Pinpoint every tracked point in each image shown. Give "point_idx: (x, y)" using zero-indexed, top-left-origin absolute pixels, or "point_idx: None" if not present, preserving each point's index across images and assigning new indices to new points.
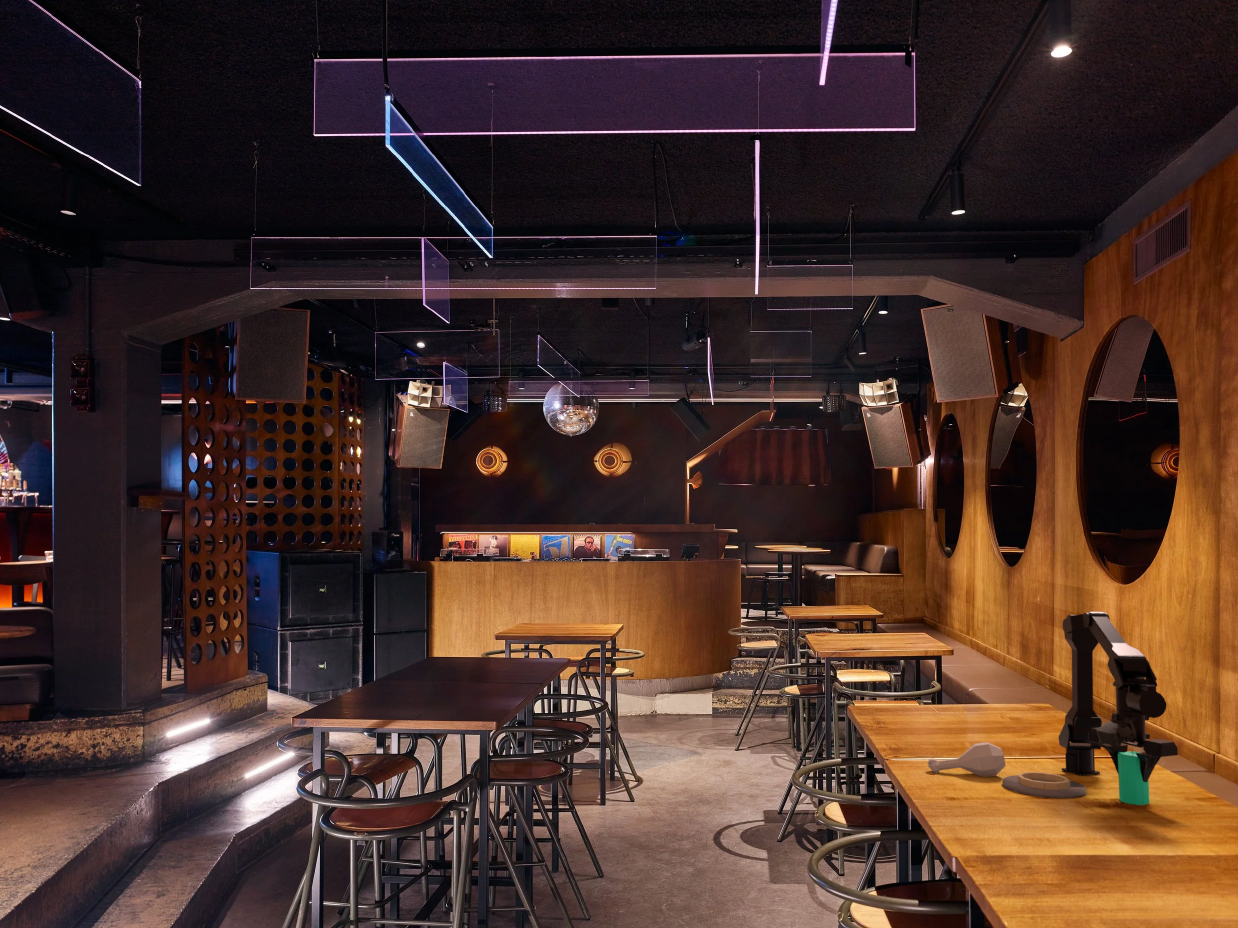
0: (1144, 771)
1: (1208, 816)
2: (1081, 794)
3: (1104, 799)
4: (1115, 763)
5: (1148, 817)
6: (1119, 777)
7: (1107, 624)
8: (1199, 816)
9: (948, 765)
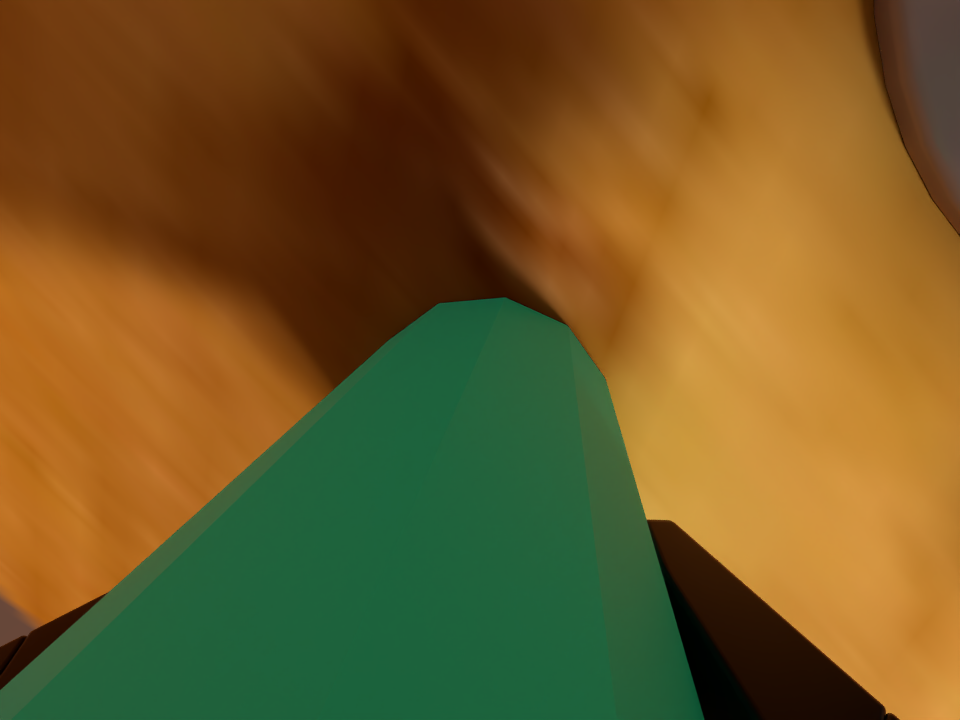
0: (65, 615)
1: (49, 540)
2: (891, 2)
3: (651, 199)
4: (797, 682)
5: (7, 62)
6: (549, 410)
7: None
8: (47, 490)
9: None
